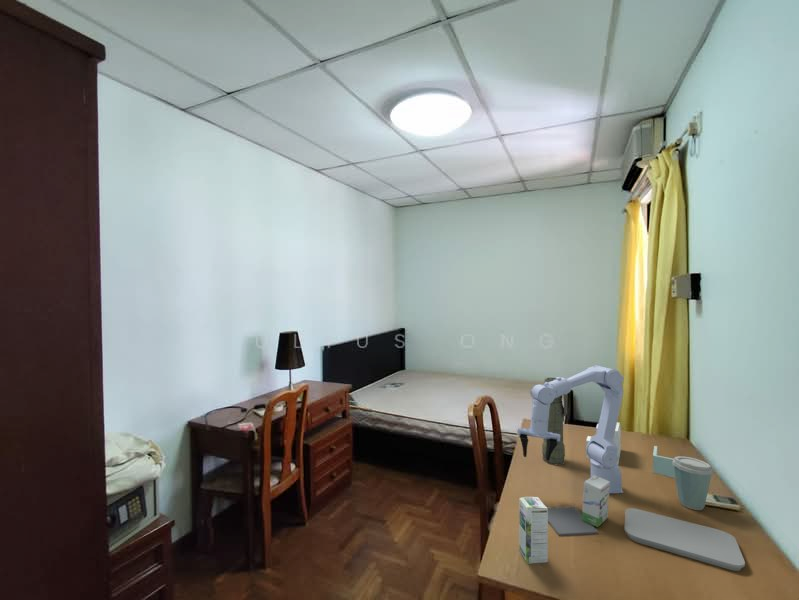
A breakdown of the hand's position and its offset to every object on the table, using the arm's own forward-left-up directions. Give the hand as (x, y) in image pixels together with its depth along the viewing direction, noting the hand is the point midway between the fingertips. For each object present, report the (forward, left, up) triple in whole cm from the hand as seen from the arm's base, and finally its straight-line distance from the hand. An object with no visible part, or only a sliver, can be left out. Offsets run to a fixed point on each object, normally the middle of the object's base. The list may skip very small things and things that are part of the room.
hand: (535, 457), depth 129 cm
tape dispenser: (-44, -30, -13) cm, 55 cm away
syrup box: (+15, +30, -13) cm, 36 cm away
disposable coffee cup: (-48, +11, -13) cm, 51 cm away
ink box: (-11, +16, -13) cm, 24 cm away
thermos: (-19, -26, -13) cm, 35 cm away
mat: (-2, +16, -13) cm, 21 cm away
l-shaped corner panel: (-61, -12, -14) cm, 64 cm away
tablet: (-29, +27, -14) cm, 42 cm away
